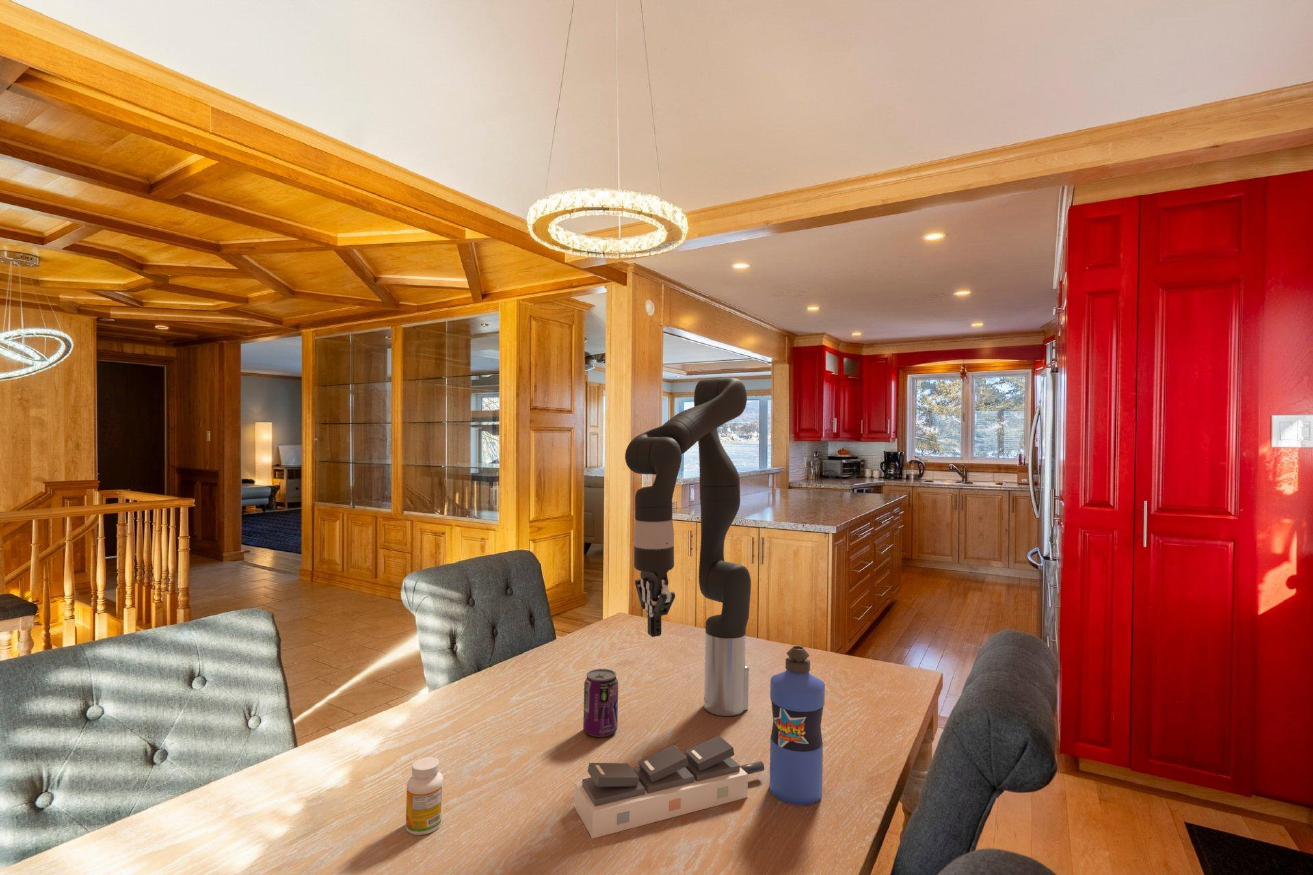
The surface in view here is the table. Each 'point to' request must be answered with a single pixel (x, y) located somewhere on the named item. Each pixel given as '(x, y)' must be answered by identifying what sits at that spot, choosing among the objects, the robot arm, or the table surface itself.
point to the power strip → (660, 796)
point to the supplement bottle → (424, 797)
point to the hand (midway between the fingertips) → (654, 635)
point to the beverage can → (600, 703)
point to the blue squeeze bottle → (796, 732)
